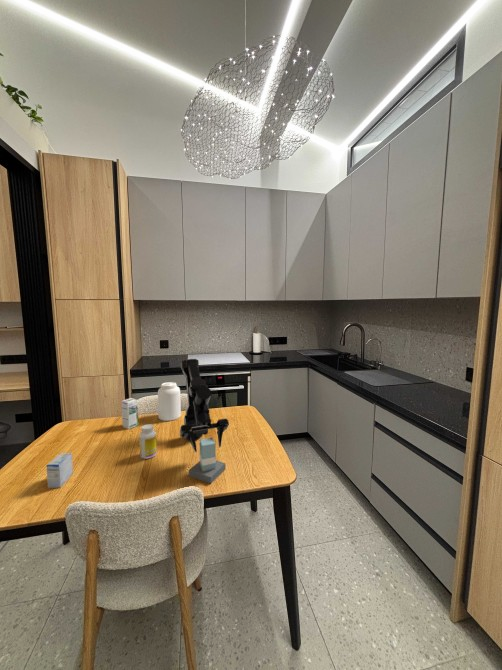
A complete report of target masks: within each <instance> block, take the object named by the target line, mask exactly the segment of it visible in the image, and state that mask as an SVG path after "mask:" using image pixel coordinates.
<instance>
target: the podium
mask: <svg viewBox="0 0 502 670" xmlns="http://www.w3.org/2000/svg"><path fill="white" fill-rule="evenodd" d="M226 469H227V468H226V462H222V461H220V460H216V469H211V470H207V471H202V469H201V466H200V460H199V461H198V462H196V463H195V464H194V465H193V466H192V467H190V468H189V469H188V477H190V478H193V479H196V480H199V481H201V482H202V481H203V482H205V483H208V484H212V483H213V482H214V481H216V479H217V478H218V477H219V476H220V475H221V474H223V473H224V471H226Z"/></svg>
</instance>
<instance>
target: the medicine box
mask: <svg viewBox="0 0 502 670" xmlns="http://www.w3.org/2000/svg"><path fill="white" fill-rule="evenodd" d="M73 467H74V466H73V453H72V452H70V453H69V452H67V453H66V452H64V453H63V452H62V453H59V454H58V455H56V456H55V457H54V458H53V459H52V460H51V461H50V462H49V463H47V464H46V478H47V479H46V481H47V488H49V489H50V488H51V489H55V488H62V486H64V484H65V483H66V481H68V480H69V479H70V477H72V476H73V474H74V469H73Z"/></svg>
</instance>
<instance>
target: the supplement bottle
mask: <svg viewBox="0 0 502 670" xmlns="http://www.w3.org/2000/svg"><path fill="white" fill-rule="evenodd" d="M141 431H142V432H140V433H139V438H138V439H139V455H140V458H141V459H146V460H148V459H152V458H153V457H155V456H156V455H157V433H156V431H155V430H154V425H153V424H151V423H150V424H149V423H147V424H144V425H142V426H141Z"/></svg>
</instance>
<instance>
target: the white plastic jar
mask: <svg viewBox="0 0 502 670" xmlns="http://www.w3.org/2000/svg"><path fill="white" fill-rule="evenodd" d="M181 404H182V403H181V388H180V387H179V386H178V385H177V382H174V381H168V382H163V383H161V385H160V388H159V389H158V390H157V411H158V413H157V415H158V417H157V418H158V419H159V420H160V421H166V422H169V421H174V420H177V419H179V418H181V415H182V411H181V406H182V405H181Z"/></svg>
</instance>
